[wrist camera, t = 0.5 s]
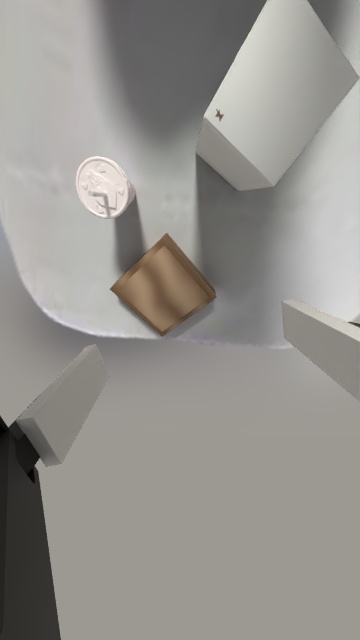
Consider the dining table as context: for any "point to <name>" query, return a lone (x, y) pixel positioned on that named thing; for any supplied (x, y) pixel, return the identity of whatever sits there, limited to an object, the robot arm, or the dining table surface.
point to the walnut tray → (164, 287)
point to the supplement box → (274, 96)
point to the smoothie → (104, 187)
